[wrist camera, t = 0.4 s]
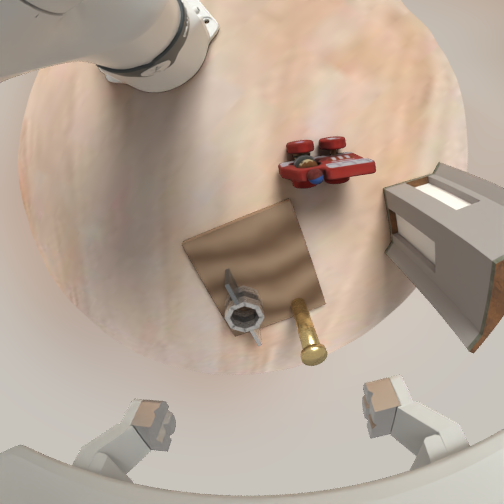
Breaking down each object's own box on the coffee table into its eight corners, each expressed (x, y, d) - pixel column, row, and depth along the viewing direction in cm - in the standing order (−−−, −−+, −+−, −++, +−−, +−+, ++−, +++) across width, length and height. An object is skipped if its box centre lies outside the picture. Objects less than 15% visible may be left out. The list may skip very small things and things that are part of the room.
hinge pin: (284, 299, 54) (298, 353, 41) (305, 292, 53) (324, 344, 41) (291, 315, 55) (305, 368, 43) (310, 307, 55) (329, 360, 42)
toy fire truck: (272, 144, 43) (283, 152, 33) (347, 134, 42) (376, 140, 33) (279, 187, 46) (292, 206, 36) (352, 175, 45) (380, 191, 36)
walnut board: (182, 241, 49) (181, 244, 48) (289, 198, 46) (290, 200, 45) (235, 332, 58) (235, 336, 57) (324, 300, 56) (325, 304, 55)
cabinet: (389, 255, 52) (473, 353, 27) (354, 234, 50) (440, 339, 25) (443, 166, 45) (557, 220, 20) (411, 137, 42) (539, 177, 17)
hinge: (210, 275, 50) (208, 291, 46) (243, 262, 50) (245, 277, 45) (243, 333, 57) (244, 350, 52) (272, 322, 56) (276, 340, 52)
